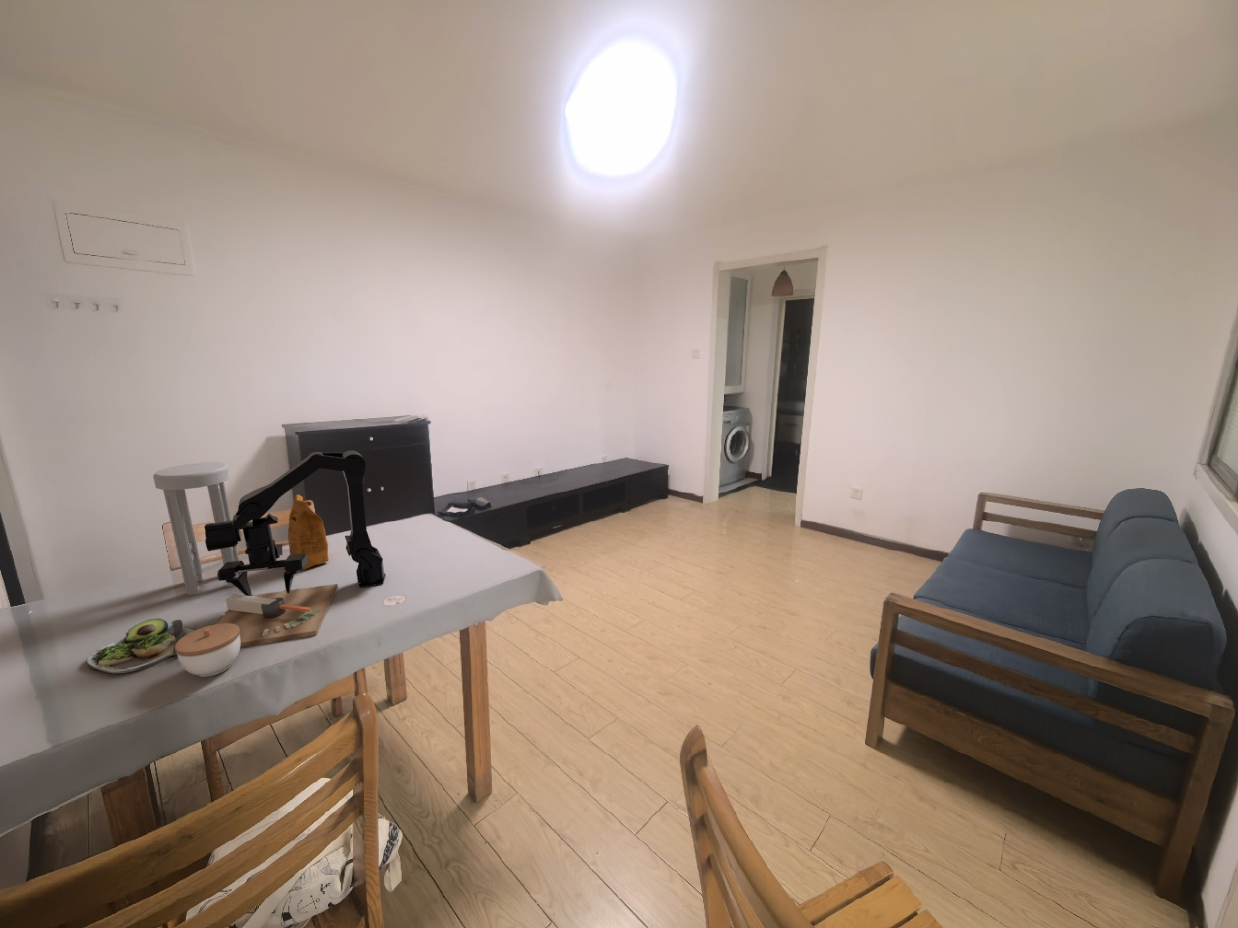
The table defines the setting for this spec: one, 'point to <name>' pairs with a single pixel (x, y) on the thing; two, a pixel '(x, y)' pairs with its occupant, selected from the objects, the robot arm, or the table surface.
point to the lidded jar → (209, 649)
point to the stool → (177, 505)
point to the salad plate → (140, 646)
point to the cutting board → (284, 616)
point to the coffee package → (307, 533)
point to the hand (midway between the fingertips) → (269, 595)
